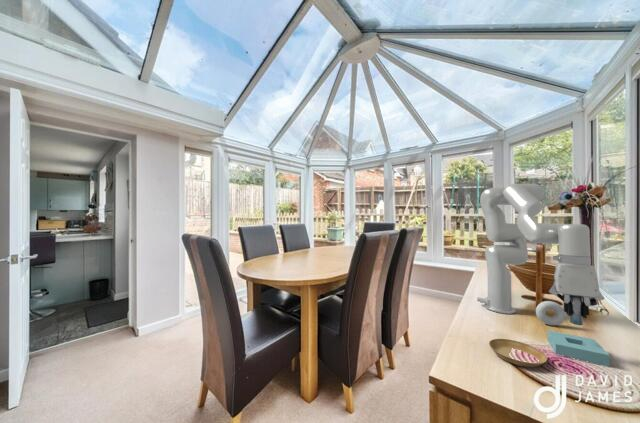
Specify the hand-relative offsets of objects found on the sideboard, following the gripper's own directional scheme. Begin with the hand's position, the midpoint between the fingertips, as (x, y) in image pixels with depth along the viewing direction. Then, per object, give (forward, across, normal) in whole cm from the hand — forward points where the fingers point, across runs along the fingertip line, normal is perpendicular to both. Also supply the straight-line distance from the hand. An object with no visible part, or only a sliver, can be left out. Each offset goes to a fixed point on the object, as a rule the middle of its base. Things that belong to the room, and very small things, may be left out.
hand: (576, 315), depth 83 cm
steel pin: (+3, 0, 0) cm, 3 cm away
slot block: (+12, 0, +1) cm, 12 cm away
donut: (+12, -2, +25) cm, 28 cm away
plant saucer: (+13, -17, -14) cm, 26 cm away
